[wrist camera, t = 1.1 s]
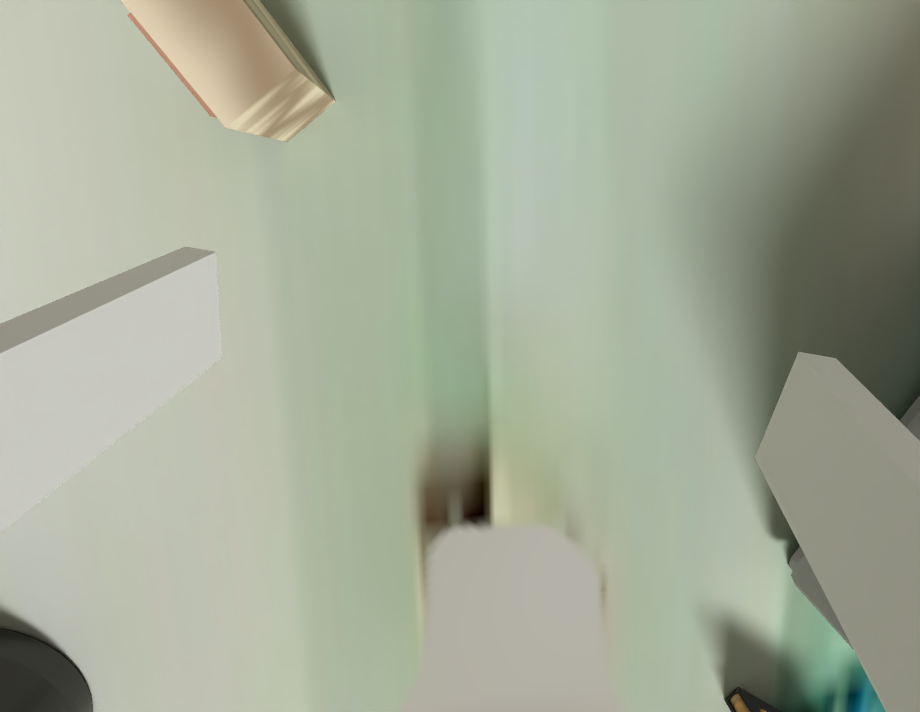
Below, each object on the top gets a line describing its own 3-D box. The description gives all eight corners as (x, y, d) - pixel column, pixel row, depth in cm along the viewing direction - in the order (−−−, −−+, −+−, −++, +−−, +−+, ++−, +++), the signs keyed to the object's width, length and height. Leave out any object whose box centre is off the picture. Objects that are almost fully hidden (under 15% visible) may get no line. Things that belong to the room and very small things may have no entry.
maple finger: (282, 145, 37) (218, 133, 26) (203, 47, 36) (97, -14, 24) (335, 101, 37) (294, 68, 25) (258, -2, 35) (176, -88, 23)
